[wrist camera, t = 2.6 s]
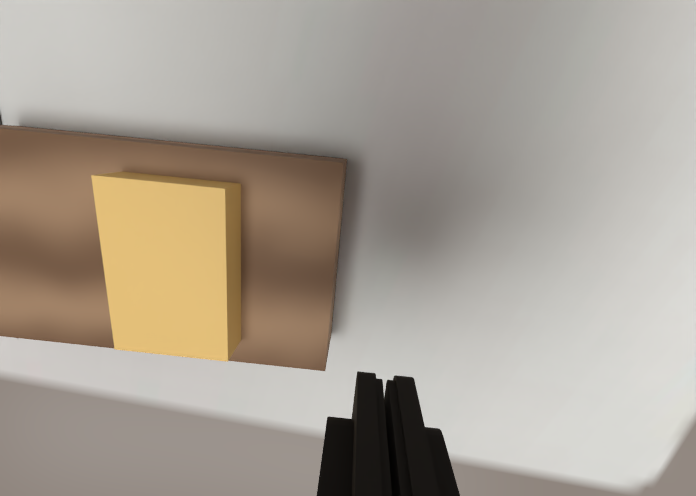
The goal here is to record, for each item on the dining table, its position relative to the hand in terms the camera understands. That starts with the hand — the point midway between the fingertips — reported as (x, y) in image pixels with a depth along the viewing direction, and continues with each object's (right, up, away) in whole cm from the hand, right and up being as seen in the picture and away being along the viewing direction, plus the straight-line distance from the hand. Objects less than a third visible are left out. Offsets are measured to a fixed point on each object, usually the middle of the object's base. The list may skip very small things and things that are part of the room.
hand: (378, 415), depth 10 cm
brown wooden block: (-12, +6, +12) cm, 18 cm away
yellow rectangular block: (-10, +4, +8) cm, 13 cm away
